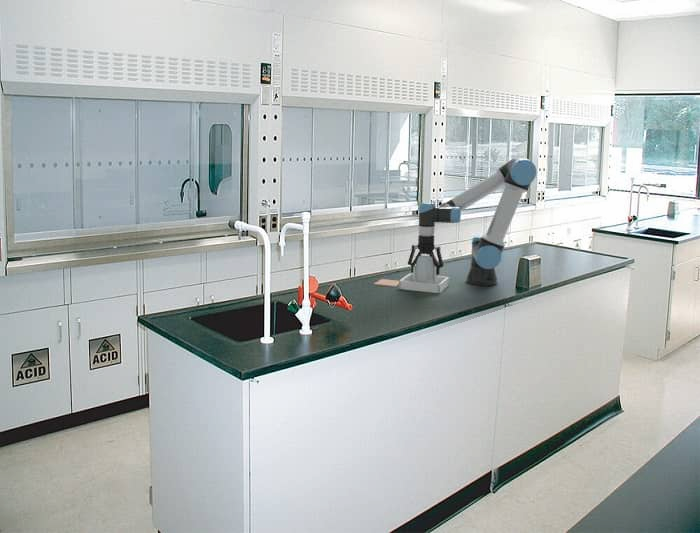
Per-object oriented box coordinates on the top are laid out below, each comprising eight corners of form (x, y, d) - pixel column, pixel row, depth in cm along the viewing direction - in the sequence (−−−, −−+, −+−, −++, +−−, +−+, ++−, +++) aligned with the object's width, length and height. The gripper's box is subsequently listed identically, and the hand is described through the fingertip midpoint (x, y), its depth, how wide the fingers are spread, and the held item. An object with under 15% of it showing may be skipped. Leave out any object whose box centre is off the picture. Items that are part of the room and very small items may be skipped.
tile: (402, 282, 344) (402, 281, 344) (395, 287, 334) (395, 285, 334) (381, 280, 348) (381, 278, 348) (374, 284, 338) (374, 283, 338)
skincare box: (435, 286, 334) (436, 256, 331) (425, 288, 330) (426, 257, 327) (424, 283, 341) (424, 253, 337) (414, 284, 337) (415, 254, 334)
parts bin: (448, 285, 340) (449, 277, 339) (439, 293, 324) (439, 285, 323) (409, 280, 347) (410, 273, 347) (398, 288, 331) (399, 280, 330)
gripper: (451, 235, 330) (449, 280, 334) (406, 232, 338) (405, 276, 342) (447, 237, 323) (445, 284, 327) (401, 234, 331) (400, 279, 336)
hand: (425, 280), depth 335 cm, fingers closed on skincare box, 10 cm apart
